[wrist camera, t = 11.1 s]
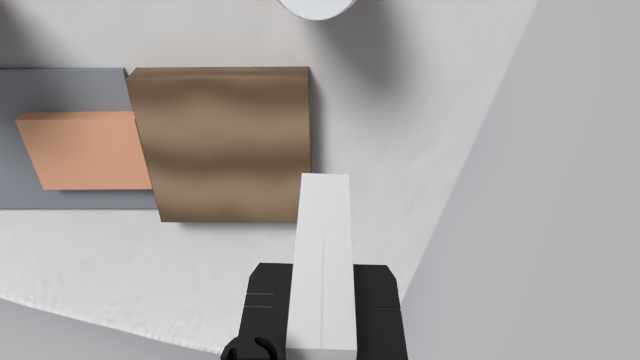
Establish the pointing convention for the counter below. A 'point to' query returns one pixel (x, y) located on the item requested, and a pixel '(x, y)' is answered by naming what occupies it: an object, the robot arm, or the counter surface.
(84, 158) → the card
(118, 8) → the counter surface
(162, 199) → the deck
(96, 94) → the mat
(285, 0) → the pill bottle
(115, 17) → the counter surface
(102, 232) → the counter surface
